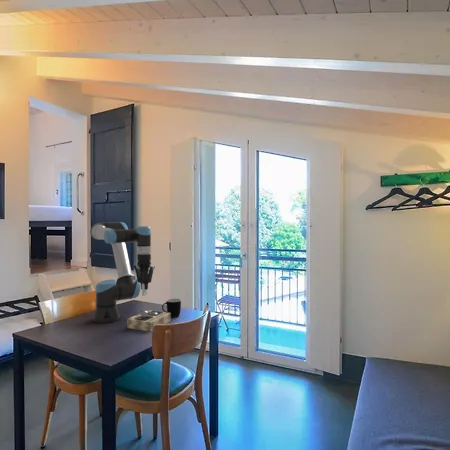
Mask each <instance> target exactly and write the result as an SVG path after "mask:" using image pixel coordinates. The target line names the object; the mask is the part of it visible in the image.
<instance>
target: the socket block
mask: <svg viewBox="0 0 450 450" xmlns="http://www.w3.org/2000/svg"><path fill="white" fill-rule="evenodd" d="M146 311H147V317H148V318H147V319H141V312H140V313H138V314H136V315H133V316H131V317H129V318H127V319H126V328H127V329H131V330H138V331H145V332H150V333H151V332H153V331H152V328H153V326H154V325H157V324H164V325H166V324H169V323H170V322H171V320H172V319H171V313H168V312H167V311H166V312H164V311H158V310H153V309H152V310H150V309H148V310H146ZM152 312H157V313H158V314H156V315H154V314H151V313H152Z"/></svg>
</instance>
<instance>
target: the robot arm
mask: <svg viewBox="0 0 450 450" xmlns="http://www.w3.org/2000/svg"><path fill="white" fill-rule="evenodd" d="M89 233H90V236H91V238H93V239H94V240H99V241H100V240H101V241H103V240H104V243H106V244H110V245H111V247H112V252H113V256H114V262H115V267H116V272H117V279H106V280H101V281H99V282H97V284H96V285H95V310H94V314H93V316H92V321H93V322H94V323H97V324H98V323H99V324H105V323H106V324H107V323H112V322H116V321H119V320H120V313H119V310H118V307H117V302H118V301H125V300H129V299H130V300H132V299H136V298H138V297H139V296H140V293H141V296H142V297H143V296H147V295H148V289H149V284H150V283H152V279H153V273H154V270H155V268H156V267H155V266H154V265H152V263H151V261H152V254H151V253H152V249H151V248H152V245H151V244H152V243H151V240H152V239H151V238H152V237H151V236H152V232H151V227H150V226H149V225H148V226H147V225H142V226H141V225H139V226H137V227H136V228H131V229H129V228H128V226H127V224H126V223H125V222H123V221H114V222H113V221H105V222H97V223H95V224H93V226H91V228H90V231H89ZM126 243H136V253H137V256H136V257H137V263H136V265H133V268H134V271H135V275H136V276H135V275H134V274H133V273H132V268H131V263H130V259H129V254H128V249H127V245H126Z"/></svg>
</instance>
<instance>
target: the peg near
mask: <svg viewBox="0 0 450 450" xmlns="http://www.w3.org/2000/svg"><path fill="white" fill-rule="evenodd" d="M140 313H141V319H147V318H148V317H147V310H141V311H140Z"/></svg>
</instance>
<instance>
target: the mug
mask: <svg viewBox="0 0 450 450" xmlns="http://www.w3.org/2000/svg"><path fill="white" fill-rule="evenodd" d="M165 305H166V310H164V306H165ZM181 306H182V300H181V299H180V298H168V299H167V300H166V301H165V302H164V303H163V304H162V305H161V310H162V312H168V313H171V318H172V319H173V318H178V317H179V316H180V313H181Z"/></svg>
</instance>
